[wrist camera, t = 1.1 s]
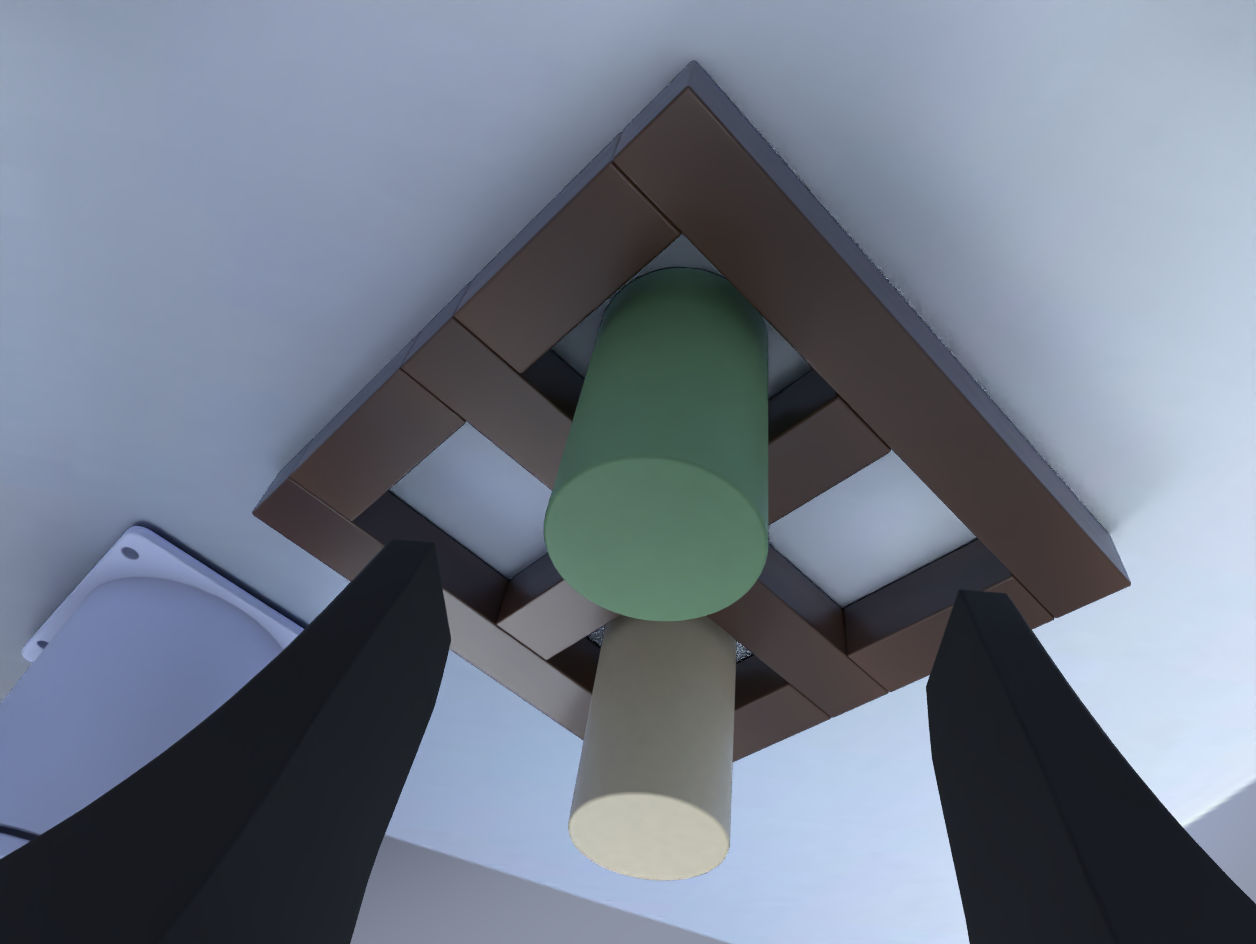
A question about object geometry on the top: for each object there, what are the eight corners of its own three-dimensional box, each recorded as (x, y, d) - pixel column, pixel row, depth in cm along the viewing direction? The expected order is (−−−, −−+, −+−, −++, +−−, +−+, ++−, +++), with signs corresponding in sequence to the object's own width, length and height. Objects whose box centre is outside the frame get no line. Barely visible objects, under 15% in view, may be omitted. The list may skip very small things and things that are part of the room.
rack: (666, 748, 32) (662, 794, 30) (278, 472, 26) (250, 514, 24) (1111, 536, 23) (1132, 585, 22) (694, 58, 17) (688, 84, 16)
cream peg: (668, 684, 29) (646, 896, 24) (580, 617, 28) (534, 827, 22) (764, 634, 27) (764, 853, 22) (674, 559, 26) (649, 774, 20)
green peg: (678, 440, 23) (652, 651, 18) (565, 337, 22) (498, 533, 16) (803, 351, 21) (815, 558, 16) (687, 231, 20) (657, 414, 14)
